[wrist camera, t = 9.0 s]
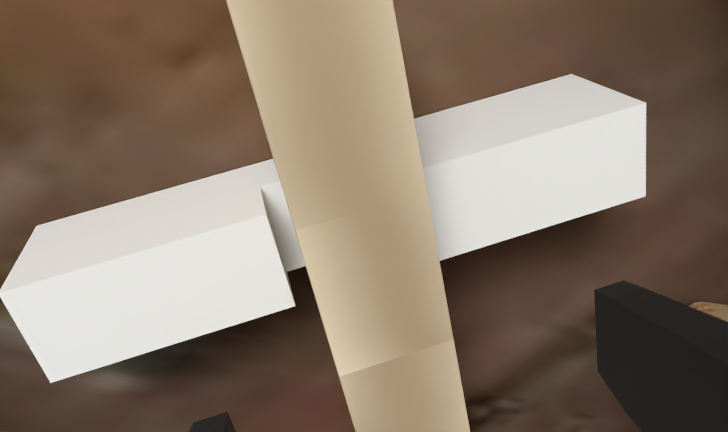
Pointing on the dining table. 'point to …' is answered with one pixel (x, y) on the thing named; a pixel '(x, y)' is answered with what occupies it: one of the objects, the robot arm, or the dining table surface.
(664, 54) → the dining table surface
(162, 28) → the dining table surface
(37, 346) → the white building blocks
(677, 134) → the dining table surface
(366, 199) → the light wood plank
